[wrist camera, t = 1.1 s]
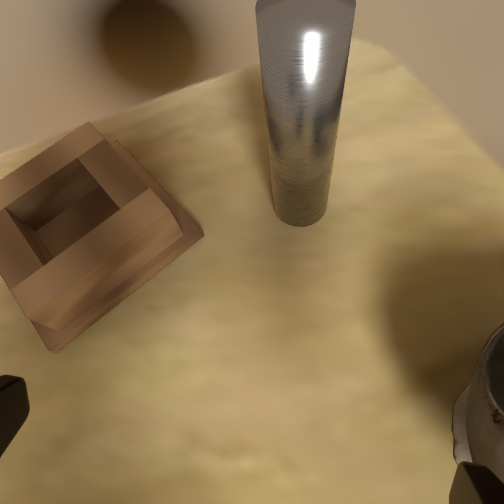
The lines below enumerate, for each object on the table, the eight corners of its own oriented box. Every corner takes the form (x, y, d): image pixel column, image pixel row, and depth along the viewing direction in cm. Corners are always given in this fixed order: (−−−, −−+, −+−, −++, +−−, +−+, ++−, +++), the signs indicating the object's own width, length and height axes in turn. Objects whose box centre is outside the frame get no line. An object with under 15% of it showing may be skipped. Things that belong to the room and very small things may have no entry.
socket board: (56, 352, 23) (13, 339, 19) (-13, 240, 26) (-59, 211, 23) (204, 235, 25) (189, 204, 21) (121, 147, 29) (97, 108, 25)
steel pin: (299, 236, 24) (303, 54, 12) (262, 202, 25) (235, 7, 14) (338, 203, 25) (377, 1, 13) (300, 172, 26) (306, -39, 14)
